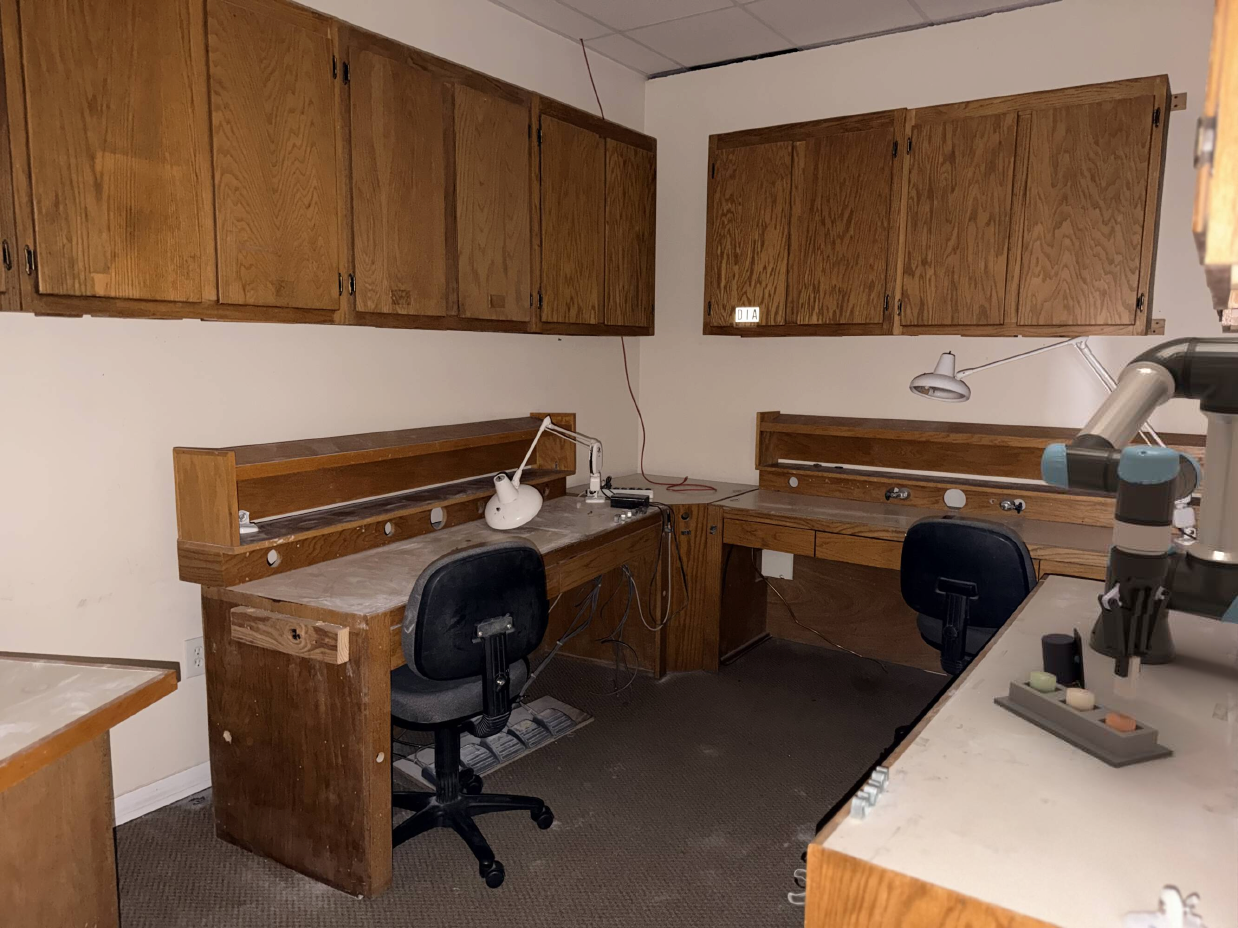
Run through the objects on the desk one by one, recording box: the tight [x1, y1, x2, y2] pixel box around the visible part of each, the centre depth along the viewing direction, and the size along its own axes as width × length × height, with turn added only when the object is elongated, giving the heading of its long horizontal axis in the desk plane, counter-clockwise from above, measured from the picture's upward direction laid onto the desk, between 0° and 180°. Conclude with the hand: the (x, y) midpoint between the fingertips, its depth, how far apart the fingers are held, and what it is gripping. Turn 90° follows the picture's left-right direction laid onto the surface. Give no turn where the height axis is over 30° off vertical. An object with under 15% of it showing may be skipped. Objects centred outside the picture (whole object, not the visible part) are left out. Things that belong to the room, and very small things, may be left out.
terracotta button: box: [1105, 712, 1136, 733], centre depth 131 cm, size 4×4×4 cm
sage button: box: [1029, 670, 1056, 694], centre depth 145 cm, size 4×4×4 cm
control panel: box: [993, 678, 1174, 769], centre depth 138 cm, size 24×12×4 cm, turn 20°
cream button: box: [1066, 687, 1095, 712], centre depth 138 cm, size 4×4×4 cm
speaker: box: [1040, 627, 1086, 690], centre depth 156 cm, size 8×6×10 cm
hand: (1124, 694), depth 131 cm, fingers closed
